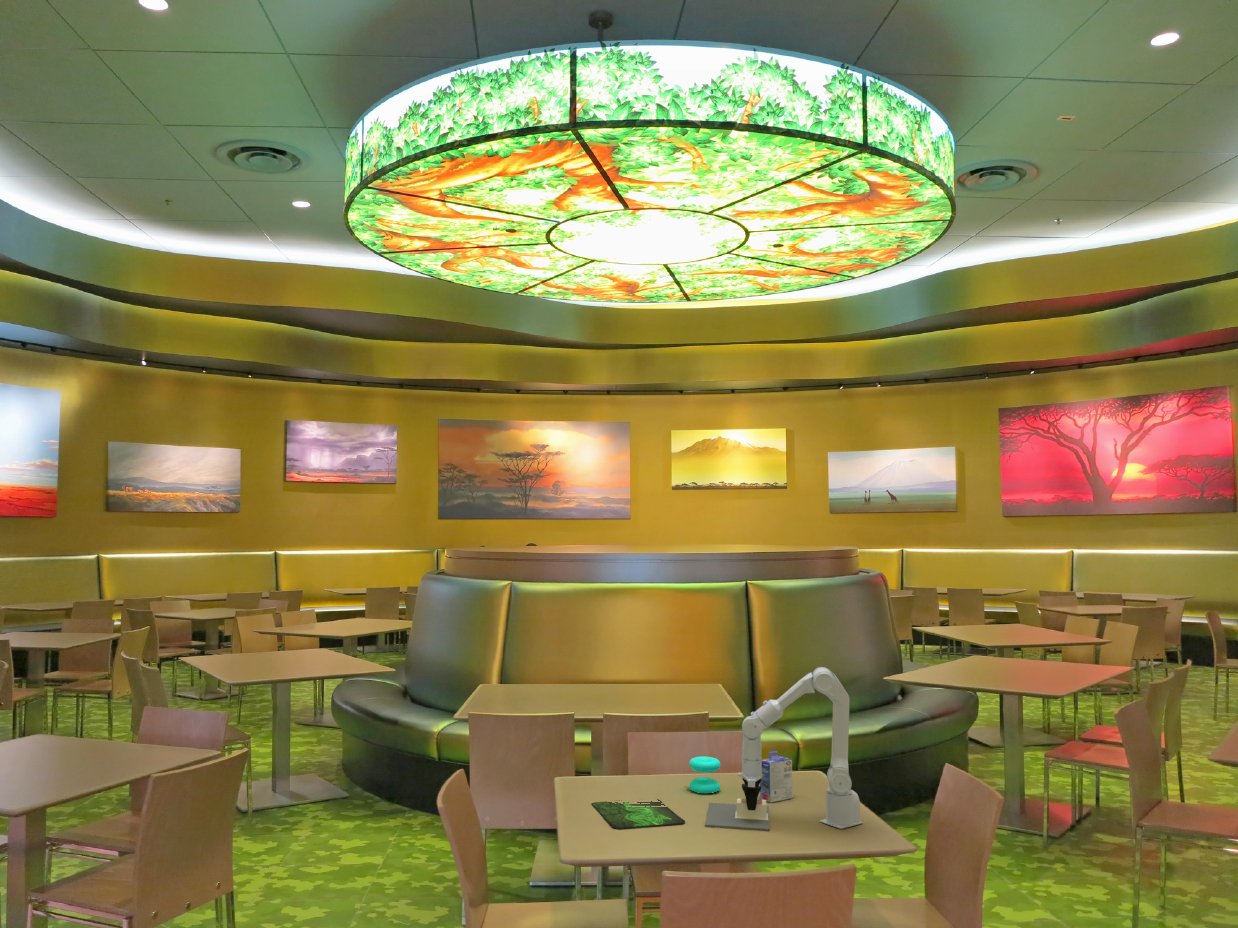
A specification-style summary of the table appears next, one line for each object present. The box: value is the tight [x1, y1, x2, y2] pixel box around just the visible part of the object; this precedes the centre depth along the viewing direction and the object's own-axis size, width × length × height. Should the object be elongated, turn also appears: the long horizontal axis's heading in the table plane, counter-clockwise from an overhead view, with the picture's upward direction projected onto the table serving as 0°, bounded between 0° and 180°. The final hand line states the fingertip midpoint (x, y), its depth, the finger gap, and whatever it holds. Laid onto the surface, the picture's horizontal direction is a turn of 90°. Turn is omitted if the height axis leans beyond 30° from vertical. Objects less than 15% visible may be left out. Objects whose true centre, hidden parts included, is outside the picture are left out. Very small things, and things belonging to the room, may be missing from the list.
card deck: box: [736, 797, 767, 819], centre depth 267 cm, size 5×8×4 cm, turn 82°
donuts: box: [688, 756, 721, 794], centre depth 296 cm, size 10×10×10 cm
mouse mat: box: [590, 798, 686, 830], centre depth 270 cm, size 27×22×1 cm
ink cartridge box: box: [759, 750, 793, 803], centre depth 288 cm, size 10×6×14 cm, turn 124°
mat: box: [704, 802, 770, 832], centre depth 268 cm, size 18×22×1 cm
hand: (751, 805), depth 267 cm, fingers open, 7 cm apart
